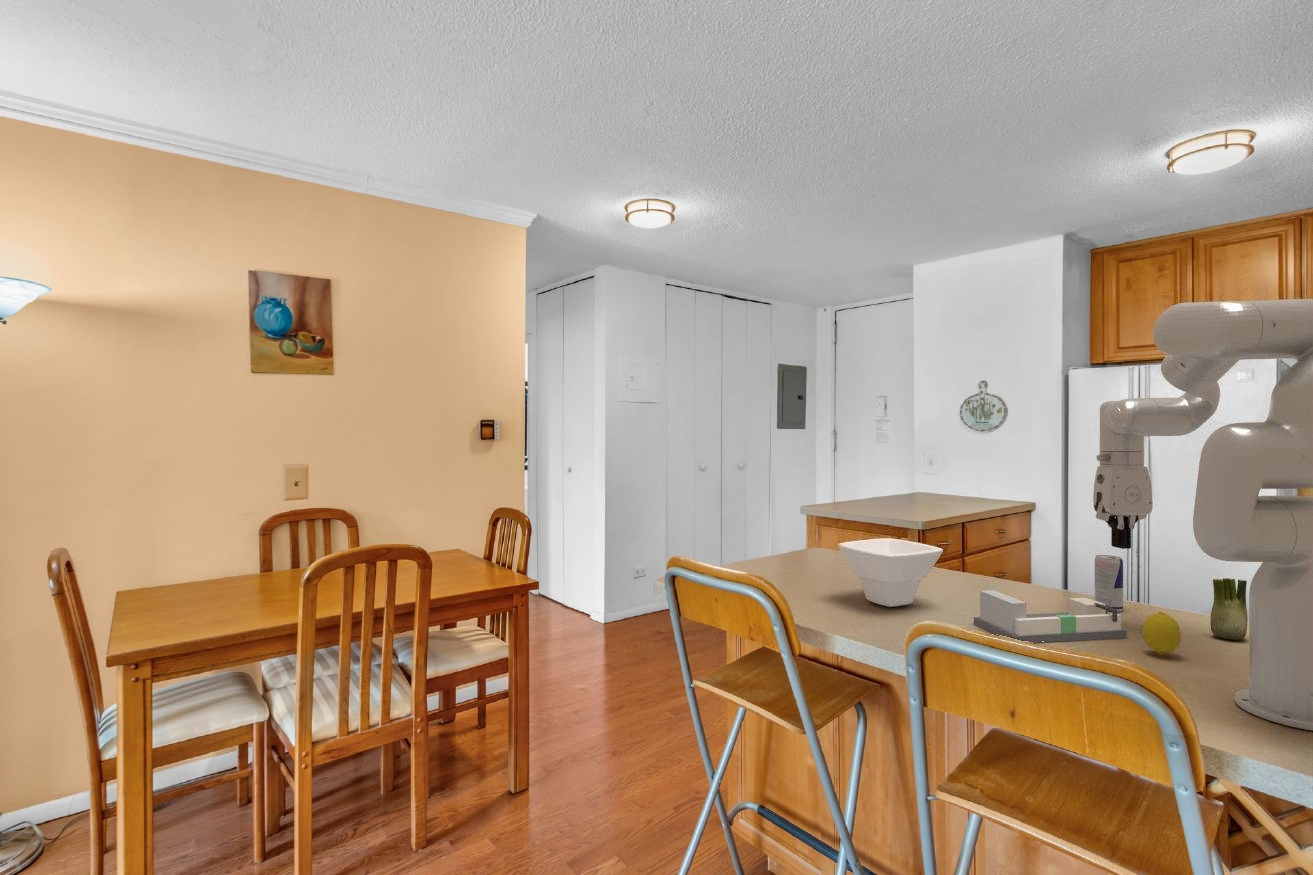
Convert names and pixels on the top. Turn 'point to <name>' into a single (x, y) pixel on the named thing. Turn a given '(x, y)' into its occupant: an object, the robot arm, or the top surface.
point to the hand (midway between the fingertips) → (1121, 547)
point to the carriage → (1089, 607)
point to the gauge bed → (1042, 622)
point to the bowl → (890, 567)
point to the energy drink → (1109, 581)
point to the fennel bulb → (1229, 609)
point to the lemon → (1161, 633)
